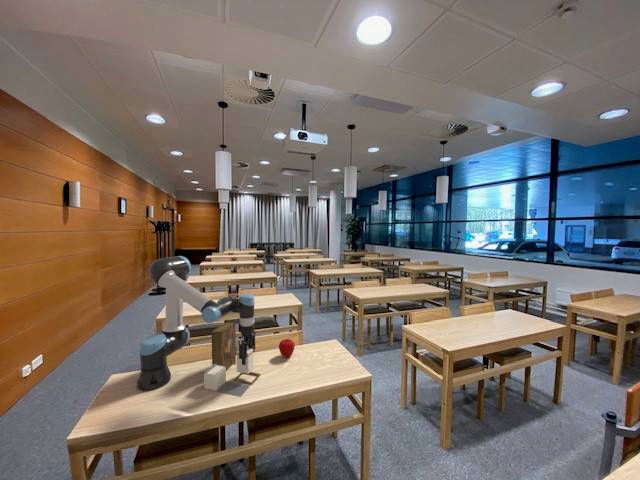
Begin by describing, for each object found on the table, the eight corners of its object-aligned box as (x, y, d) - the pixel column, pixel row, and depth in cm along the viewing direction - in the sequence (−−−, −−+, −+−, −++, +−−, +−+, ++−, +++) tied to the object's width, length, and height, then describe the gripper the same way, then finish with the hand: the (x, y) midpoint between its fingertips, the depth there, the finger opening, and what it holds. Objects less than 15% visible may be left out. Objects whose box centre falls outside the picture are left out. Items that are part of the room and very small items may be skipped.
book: (228, 361, 161) (228, 321, 159) (236, 362, 160) (236, 321, 158) (212, 376, 145) (211, 331, 143) (221, 377, 143) (220, 332, 142)
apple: (276, 358, 165) (275, 341, 165) (284, 351, 174) (284, 335, 173) (289, 361, 161) (289, 344, 161) (297, 354, 170) (297, 337, 169)
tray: (234, 383, 139) (234, 379, 139) (243, 374, 147) (243, 370, 147) (252, 386, 136) (252, 382, 136) (260, 377, 144) (260, 373, 144)
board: (201, 391, 132) (201, 388, 132) (213, 380, 141) (213, 378, 141) (240, 399, 126) (240, 396, 126) (250, 388, 135) (250, 385, 135)
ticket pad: (203, 388, 132) (203, 371, 132) (214, 379, 140) (214, 363, 139) (215, 391, 130) (215, 374, 130) (226, 381, 138) (225, 365, 138)
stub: (236, 371, 140) (236, 351, 139) (241, 366, 145) (241, 346, 144) (248, 373, 138) (248, 353, 138) (253, 368, 143) (253, 348, 142)
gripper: (244, 331, 130) (244, 377, 131) (261, 319, 147) (262, 359, 149) (230, 329, 132) (231, 375, 133) (249, 317, 149) (250, 357, 151)
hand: (247, 367), depth 141 cm, fingers closed on stub, 5 cm apart
